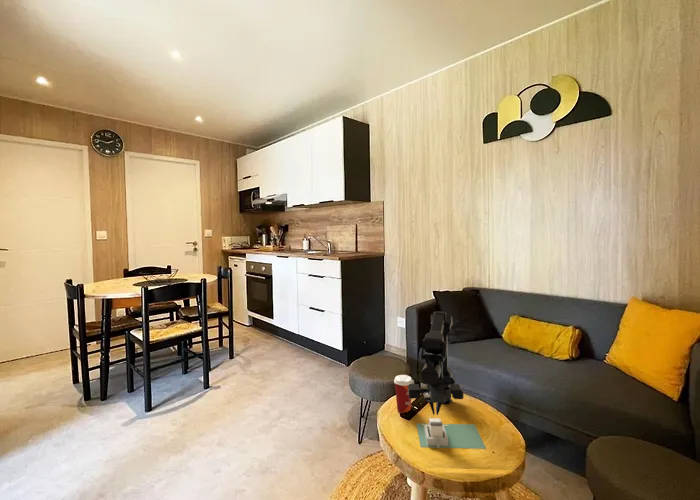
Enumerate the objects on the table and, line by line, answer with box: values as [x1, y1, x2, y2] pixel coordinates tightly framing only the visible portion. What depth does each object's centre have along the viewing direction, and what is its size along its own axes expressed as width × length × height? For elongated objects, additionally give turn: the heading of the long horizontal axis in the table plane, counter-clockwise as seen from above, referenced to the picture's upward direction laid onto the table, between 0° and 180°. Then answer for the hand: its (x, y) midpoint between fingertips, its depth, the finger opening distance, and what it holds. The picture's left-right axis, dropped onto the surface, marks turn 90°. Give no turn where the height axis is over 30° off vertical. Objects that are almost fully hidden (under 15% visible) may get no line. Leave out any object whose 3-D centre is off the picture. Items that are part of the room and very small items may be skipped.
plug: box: [428, 417, 443, 438], centre depth 119 cm, size 5×4×7 cm
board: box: [416, 422, 487, 450], centre depth 121 cm, size 14×22×4 cm, turn 85°
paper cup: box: [393, 374, 413, 414], centre depth 140 cm, size 8×8×14 cm
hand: (435, 414), depth 119 cm, fingers closed
